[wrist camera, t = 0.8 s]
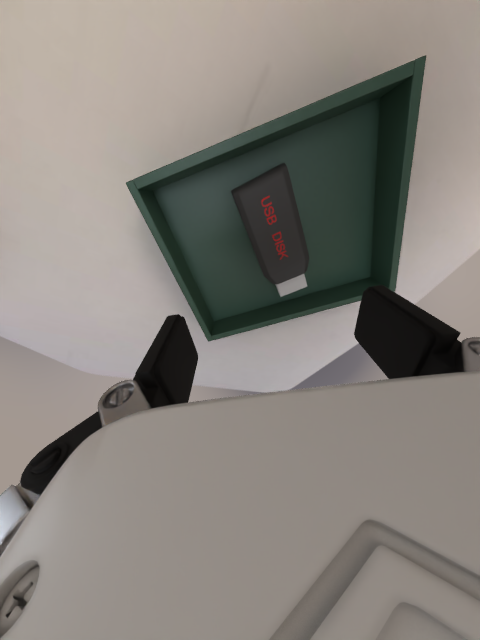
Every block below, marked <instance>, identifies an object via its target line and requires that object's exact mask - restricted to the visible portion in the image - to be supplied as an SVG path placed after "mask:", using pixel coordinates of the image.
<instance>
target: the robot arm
mask: <svg viewBox="0 0 480 640" xmlns="http://www.w3.org/2000/svg"><path fill="white" fill-rule="evenodd" d="M354 335H355V338H356V340H357V341H358V342H359V344H360V345H361V346H362V347H363V348H364V350H365V351H366V352H367V353H368V354H369V356H370V357H371V358H372V359H373V360H374V362H375V363H376V364H377V365H378V366H379V367H380V369H381V370H382V371H383V372H384V373H385V375H386V376H387V377H388V378H389V379H386V380H377V381H368V382H358V383H349V384H340V385H332V386H323V387H314V388H305V389H296V390H287V391H278V392H270V393H261V394H253V395H244V396H237V397H228V398H220V399H211V400H203V401H196V402H189V403H188V400H189V396H190V392H191V387H192V383H193V379H194V374H195V370H196V366H197V361H198V354H197V351H196V348H195V345H194V343H193V340H192V337H191V335H190V332H189V329H188V326H187V324H186V321H185V318H184V317H183V316H182V317H181V316H180V315H179V314H178V315H171V316H168V317H167V318H166V320H165V322H164V324H163V325H162V327H161V329H160V331H159V332H158V334H157V336H156V338H155V340H154V341H153V343H152V345H151V347H150V348H149V350H148V352H147V354H146V356H145V357H144V359H143V361H142V363H141V364H140V366H139V368H138V370H137V372H136V373H135V374H136V375H135V377H134V379H133V380H125V381H121V382H119V383H117V384H115V385H113V386H112V387H111V388H109V389H108V390H107V391H106V392H105V393H104V394H103V395H102V397H101V398H100V400H99V402H98V410H99V411H98V412H96V413H95V414H93V415H92V416H90V417H89V418H87V419H86V420H84V421H83V422H82V423H80V424H79V425H77V426H76V427H74V428H73V429H71V430H70V431H68V432H67V433H65V434H64V435H62V436H61V437H59V438H58V439H57V440H55V441H54V442H52V443H51V444H49V445H48V446H46V447H45V448H44V449H43V450H42V451H40V452H39V453H38V454H37V455H36V456H35V457H34V458H33V459H32V460H31V461H30V463H29V464H28V465H27V467H26V468H25V470H24V472H23V474H22V477H21V481H20V483H19V484H18V485H17V486H14V485H11V486H10V487H9V488H8V489H7V490H5V491H4V492H3V493H2V494H1V495H0V640H480V337H472V338H467V339H465V340H463V341H462V343H461V342H460V341H458V340H457V338H458V336H459V335H460V332H458V331H456V330H455V329H454V328H452V327H450V326H449V325H447V324H445V323H444V322H442V321H440V320H439V319H437V318H435V317H434V316H432V315H431V314H429V313H427V312H426V311H424V310H422V309H420V308H419V307H417V306H416V305H414V304H413V303H411V302H409V301H408V300H406V299H404V298H403V297H401V296H399V295H398V294H396V293H395V292H393V291H391V290H390V289H388V288H386V287H385V286H383V285H379V286H372V287H368V288H367V289H366V290H365V291H364V292H363V295H362V299H361V304H360V309H359V314H358V318H357V323H356V328H355V332H354Z"/></svg>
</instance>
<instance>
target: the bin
mask: <svg viewBox="0 0 480 640" xmlns="http://www.w3.org/2000/svg"><path fill="white" fill-rule="evenodd" d="M425 61H426V55H425V56H423V57H420V58H418V59H415V60H413V61H411V62H408V63H406V64H404V65H401V66H399V67H397V68H394V69H392V70H390V71H387V72H385V73H383V74H380V75H378V76H376V77H373V78H371V79H368V80H366V81H364V82H361V83H359V84H357V85H354V86H352V87H350V88H347V89H345V90H343V91H340V92H338V93H336V94H333V95H331V96H328V97H326V98H324V99H321V100H319V101H317V102H314V103H312V104H310V105H307V106H305V107H303V108H300V109H298V110H296V111H293V112H291V113H288V114H286V115H284V116H281V117H279V118H277V119H274V120H272V121H270V122H267V123H265V124H263V125H260V126H258V127H256V128H253V129H251V130H249V131H246V132H244V133H241V134H239V135H237V136H234V137H232V138H230V139H227V140H225V141H223V142H220V143H218V144H216V145H213V146H211V147H209V148H206V149H204V150H201V151H199V152H197V153H194V154H192V155H190V156H187V157H185V158H183V159H180V160H178V161H176V162H173V163H171V164H169V165H166V166H164V167H161V168H159V169H157V170H154V171H152V172H150V173H147V174H145V175H143V176H140V177H138V178H136V179H133V180H131V181H129V182H126V185H127V187H128V189H129V190H130V192H131V194H132V196H133V198H134V200H135V202H136V204H137V206H138V208H139V210H140V212H141V213H142V215H143V217H144V219H145V221H146V223H147V225H148V227H149V229H150V231H151V233H152V235H153V236H154V238H155V240H156V242H157V244H158V246H159V248H160V250H161V252H162V254H163V256H164V258H165V259H166V261H167V263H168V265H169V267H170V269H171V271H172V273H173V275H174V277H175V279H176V281H177V282H178V284H179V286H180V288H181V290H182V292H183V294H184V296H185V298H186V300H187V302H188V304H189V305H190V307H191V309H192V311H193V313H194V315H195V317H196V319H197V321H198V323H199V325H200V327H201V328H202V330H203V332H204V334H205V336H206V338H207V340H208V341H212V340H216V339H220V338H224V337H227V336H231V335H235V334H238V333H242V332H246V331H250V330H253V329H257V328H261V327H264V326H268V325H272V324H276V323H279V322H283V321H287V320H290V319H294V318H298V317H302V316H305V315H309V314H313V313H316V312H320V311H324V310H327V309H331V308H335V307H339V306H342V305H346V304H350V303H353V302H357V301H361V299H362V295H363V292H364V291H365V290H366V289H367V288H368V287H372V286H379V285H383V286H385V287H386V288H388V289H390V290H391V291H393V292H394V291H395V289H396V281H397V274H398V266H399V258H400V251H401V243H402V236H403V228H404V220H405V213H406V205H407V198H408V190H409V182H410V175H411V167H412V160H413V152H414V144H415V137H416V129H417V122H418V114H419V106H420V99H421V91H422V84H423V76H424V68H425ZM282 163H285V164H286V166H287V168H288V171H289V175H290V179H291V183H292V187H293V192H294V196H295V200H296V204H297V208H298V212H299V216H300V220H301V225H302V229H303V233H304V237H305V241H306V245H307V249H308V254H309V263H308V268H307V271H306V272H305V273H304V275H305V279H306V283H307V287H305V288H302V289H300V290H297V291H295V292H292V293H290V294H287V295H284V296H282V297H280V295H279V292H278V290H277V287H276V285H275V284H272V283H271V282H270V281H269V280H268V279H267V278H265V277H264V275H263V273H262V270H261V268H260V265H259V263H258V260H257V257H256V255H255V252H254V250H253V247H252V245H251V242H250V239H249V237H248V234H247V232H246V229H245V227H244V224H243V221H242V219H241V216H240V214H239V211H238V209H237V206H236V204H235V201H234V198H233V196H232V193H231V190H233V189H235V188H237V187H239V186H241V185H242V184H244V183H246V182H248V181H250V180H252V179H254V178H255V177H257V176H259V175H261V174H263V173H265V172H267V171H268V170H270V169H272V168H274V167H276V166H278V165H280V164H282Z"/></svg>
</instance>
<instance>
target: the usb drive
mask: <svg viewBox="0 0 480 640" xmlns="http://www.w3.org/2000/svg"><path fill="white" fill-rule="evenodd" d="M231 193H232V196H233V198H234V201H235V204H236V206H237V209H238V211H239V214H240V216H241V219H242V221H243V224H244V227H245V229H246V232H247V234H248V237H249V239H250V242H251V245H252V247H253V250H254V252H255V255H256V257H257V260H258V263H259V265H260V268H261V270H262V273H263V275H264V277H265V278H267V279H268V280H269V281H270V282H271V283H272V284H275V285H276V287H277V290H278V292H279V295H280V297H282V296H284V295H287V294H290V293H292V292H295V291H297V290H300V289H302V288H305V287H307V283H306V279H305V275H304V273H305V272H306V271H307V268H308V263H309V254H308V249H307V245H306V241H305V237H304V233H303V229H302V225H301V220H300V216H299V212H298V208H297V204H296V200H295V196H294V192H293V187H292V183H291V179H290V175H289V171H288V168H287V166H286V164H285V163H282V164H280V165H278V166H276V167H274V168H272V169H270V170H268V171H267V172H265V173H263V174H261V175H259V176H257V177H255V178H254V179H252V180H250V181H248V182H246V183H244V184H242V185H241V186H239V187H237V188H235V189H233V190H231Z"/></svg>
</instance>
